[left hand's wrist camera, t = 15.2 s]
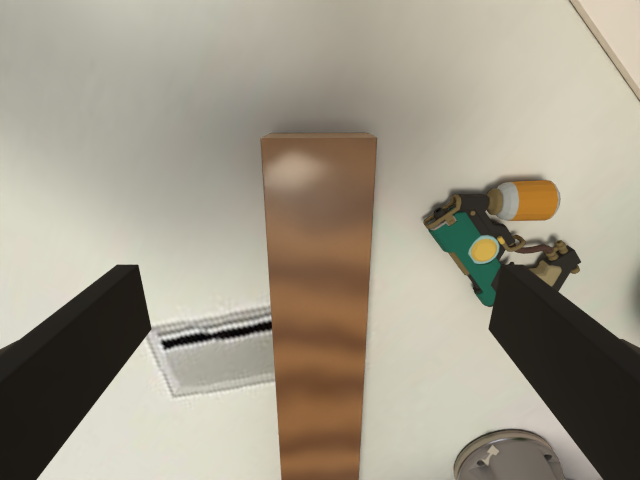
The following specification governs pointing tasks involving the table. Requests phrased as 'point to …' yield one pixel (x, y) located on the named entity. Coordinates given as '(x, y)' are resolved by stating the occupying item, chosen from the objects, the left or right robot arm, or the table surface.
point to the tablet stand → (616, 33)
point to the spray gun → (500, 234)
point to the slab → (319, 294)
